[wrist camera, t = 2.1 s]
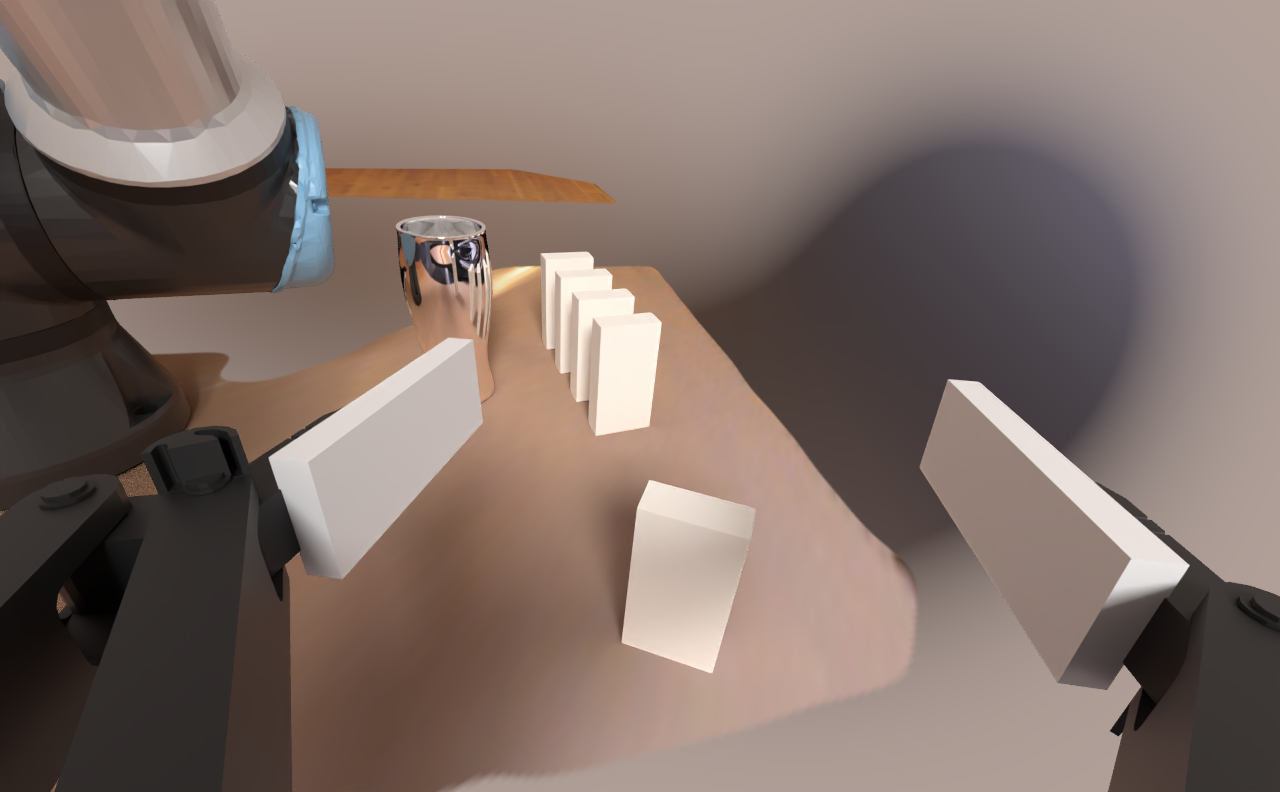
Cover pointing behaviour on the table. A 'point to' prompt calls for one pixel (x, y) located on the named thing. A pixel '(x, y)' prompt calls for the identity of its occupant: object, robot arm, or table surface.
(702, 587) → the tile
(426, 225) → the silver metal tumbler
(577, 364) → the tile
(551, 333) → the tile
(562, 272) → the tile
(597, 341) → the tile
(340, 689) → the table surface
